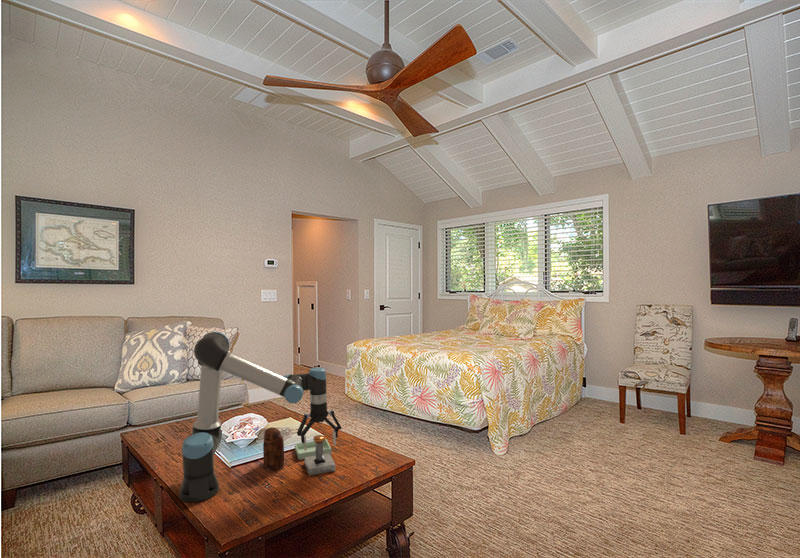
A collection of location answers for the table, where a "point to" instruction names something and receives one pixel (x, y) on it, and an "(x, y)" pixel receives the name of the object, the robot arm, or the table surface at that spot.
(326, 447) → the tray
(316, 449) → the pin
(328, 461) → the block
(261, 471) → the table surface
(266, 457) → the wooden figurine
